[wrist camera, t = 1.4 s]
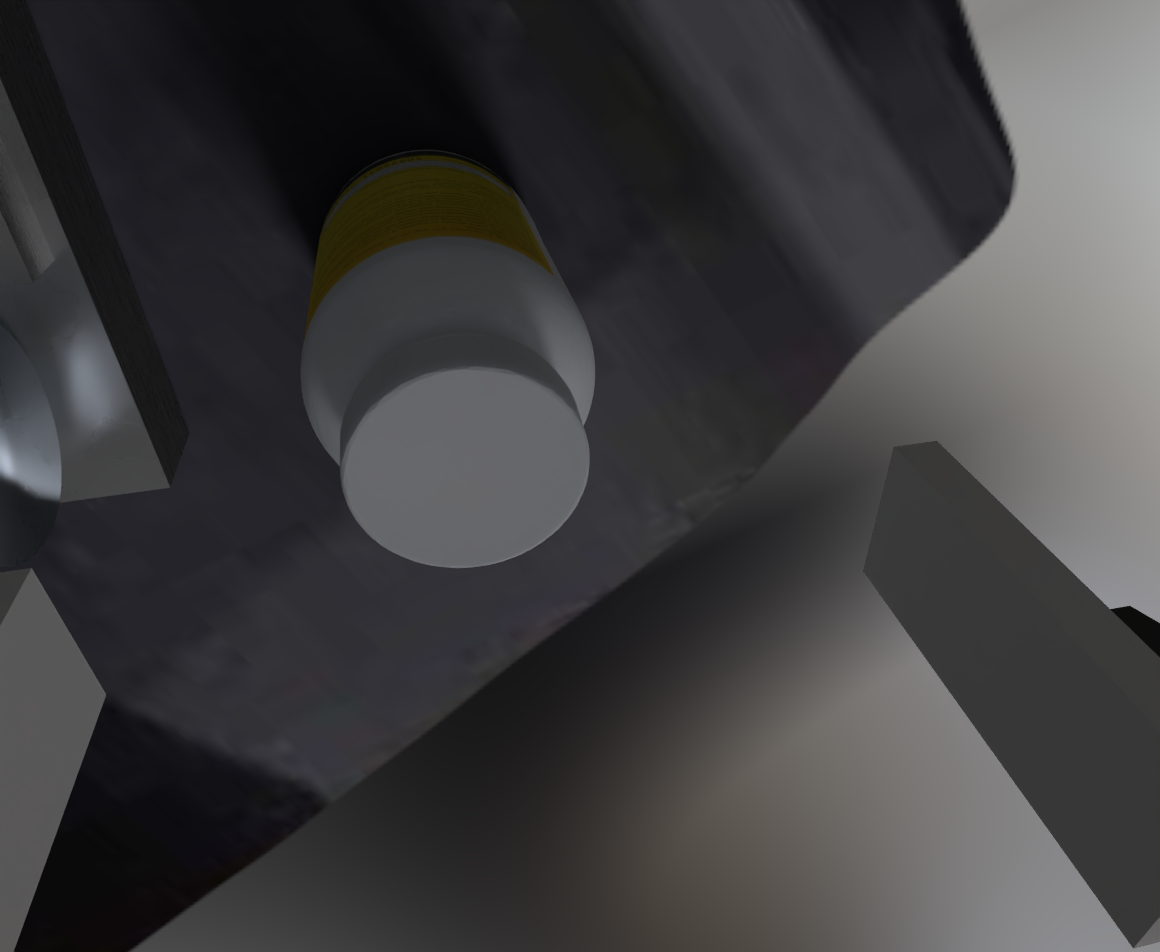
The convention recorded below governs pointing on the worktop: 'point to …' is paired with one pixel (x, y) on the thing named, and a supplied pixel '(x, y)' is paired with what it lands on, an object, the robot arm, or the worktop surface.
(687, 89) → the worktop surface
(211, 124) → the worktop surface
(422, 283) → the pill bottle
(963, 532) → the robot arm
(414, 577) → the worktop surface
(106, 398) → the motor base
